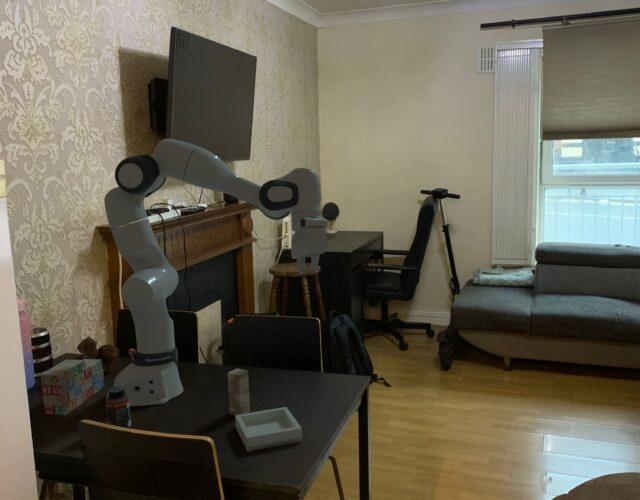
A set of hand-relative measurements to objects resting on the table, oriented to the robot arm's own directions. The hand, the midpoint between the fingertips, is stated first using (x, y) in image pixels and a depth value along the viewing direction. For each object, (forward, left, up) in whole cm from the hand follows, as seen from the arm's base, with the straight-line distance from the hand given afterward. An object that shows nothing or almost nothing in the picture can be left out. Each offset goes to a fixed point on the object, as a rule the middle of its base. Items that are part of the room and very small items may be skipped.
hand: (308, 272), depth 177 cm
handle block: (-23, -4, -37) cm, 44 cm away
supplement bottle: (-55, -2, -38) cm, 66 cm away
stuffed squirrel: (-61, +45, -38) cm, 85 cm away
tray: (-19, -20, -37) cm, 46 cm away
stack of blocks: (-67, +24, -38) cm, 80 cm away
